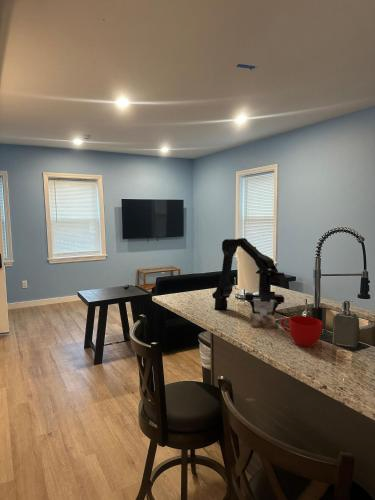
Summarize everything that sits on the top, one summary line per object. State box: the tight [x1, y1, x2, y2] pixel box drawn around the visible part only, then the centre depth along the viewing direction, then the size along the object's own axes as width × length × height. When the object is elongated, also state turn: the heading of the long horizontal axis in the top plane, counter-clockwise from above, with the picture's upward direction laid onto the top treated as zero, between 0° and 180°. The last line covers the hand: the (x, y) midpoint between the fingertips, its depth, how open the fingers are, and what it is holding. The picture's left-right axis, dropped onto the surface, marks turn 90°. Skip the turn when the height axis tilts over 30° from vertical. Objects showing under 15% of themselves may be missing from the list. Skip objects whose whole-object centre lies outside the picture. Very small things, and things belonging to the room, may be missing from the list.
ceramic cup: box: [280, 315, 324, 348], centre depth 140 cm, size 13×17×10 cm
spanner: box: [259, 309, 268, 323], centre depth 168 cm, size 3×11×4 cm, turn 166°
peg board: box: [249, 312, 279, 330], centre depth 168 cm, size 12×19×4 cm, turn 172°
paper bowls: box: [248, 299, 274, 314], centre depth 188 cm, size 15×15×8 cm
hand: (263, 314), depth 168 cm, fingers open, 9 cm apart
